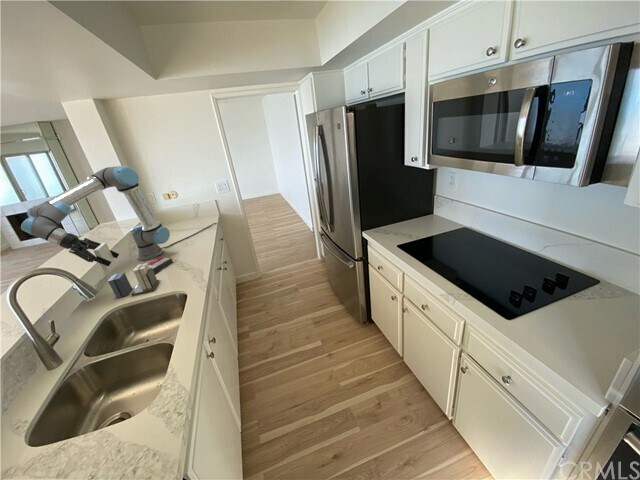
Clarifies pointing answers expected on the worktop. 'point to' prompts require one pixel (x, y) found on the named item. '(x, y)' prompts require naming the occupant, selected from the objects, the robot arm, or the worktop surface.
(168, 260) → the red and white box
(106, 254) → the white book
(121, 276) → the grey books
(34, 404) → the worktop surface
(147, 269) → the bookstand
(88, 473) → the worktop surface
